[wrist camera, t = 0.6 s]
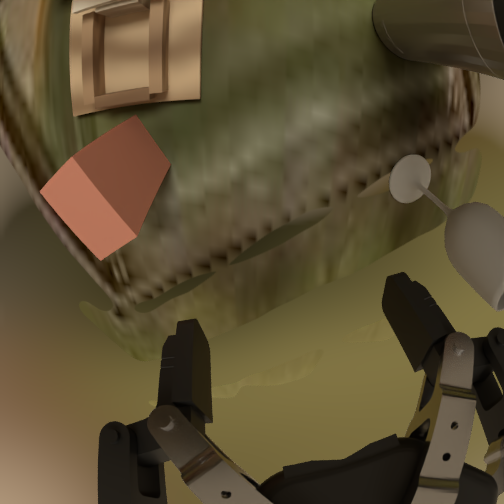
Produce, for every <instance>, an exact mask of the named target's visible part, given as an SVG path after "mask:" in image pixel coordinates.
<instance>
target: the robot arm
mask: <svg viewBox="0 0 504 504" xmlns="http://www.w3.org/2000/svg"><path fill="white" fill-rule="evenodd" d="M372 17H373V23H374V26H375V29H376V32H377V34H378V35H379V37H380V39H381V40H382V42H383V43H384V44H385V46H386V47H387V48H388V49H389V50H390V51H391V52H393V53H394V54H396V55H397V56H399V57H401V58H403V59H406V60H410V61H418V62H426V63H432V64H438V65H444V66H450V67H455V68H460V69H465V70H469V71H473V72H478V73H481V74H486V75H489V76H492V77H496V78H499V79H503V80H504V0H377V1H376V2H375V4H374V7H373V16H372ZM382 309H383V312H384V314H385V316H386V318H387V320H388V321H389V323H390V325H391V327H392V329H393V331H394V332H395V334H396V336H397V338H398V340H399V342H400V344H401V346H402V347H403V350H404V352H405V353H406V355H407V357H408V359H409V361H410V363H411V365H412V367H413V369H414V372H417V371H419V370H422V369H424V371H425V375H424V378H423V383H422V387H421V391H420V396H419V400H418V404H417V407H416V411H415V414H414V417H413V419H412V420H411V422H410V424H409V426H408V429H407V431H406V434H405V437H399V438H397V436H396V434H393V435H391V436H389V437H386V438H383V439H381V440H378V441H376V442H373V443H370V444H369V445H367V446H365V447H364V448H362V449H361V450H359V451H357V452H356V453H354V454H352V455H351V456H349V457H347V458H345V459H342V460H320V461H309V462H304V463H300V464H295V465H289V466H284V467H283V471H280V472H278V473H276V474H274V475H272V476H271V477H269V478H268V479H267V480H265V481H264V482H263V483H262V484H261V485H260V484H259V483H258V482H257V481H256V480H254V479H253V478H252V477H251V476H250V475H249V474H247V473H246V472H245V471H244V470H243V469H242V468H240V467H239V466H238V465H237V464H236V463H234V462H233V461H232V460H231V459H230V458H229V457H228V456H227V455H226V454H225V453H224V452H223V451H222V450H221V449H220V448H219V447H218V446H217V445H216V444H215V443H214V442H213V441H212V440H211V439H210V438H209V437H208V436H207V435H206V434H205V423H213V416H212V394H211V363H210V348H209V344H208V341H207V338H206V336H205V334H204V332H203V330H202V328H201V326H200V324H199V322H198V320H197V319H190V320H184V321H178V323H177V329H176V335H171V336H168V338H167V340H166V342H165V343H164V345H163V349H162V360H161V369H160V378H159V389H158V401H157V406H156V408H155V409H154V410H153V411H152V412H151V413H150V415H149V417H148V418H146V419H144V420H141V421H138V422H135V423H132V424H129V425H126V426H125V425H124V424H122V423H120V422H116V421H114V422H109V423H108V424H106V425H105V426H104V427H103V428H102V430H101V432H100V436H99V452H98V453H99V454H98V504H167V496H166V486H165V474H164V462H166V461H169V460H171V461H172V462H173V463H174V464H175V466H176V467H177V468H178V469H179V471H180V472H181V474H182V475H181V477H182V479H183V481H184V482H185V484H186V485H187V486H188V487H189V488H190V490H191V491H192V492H193V493H194V494H195V495H196V496H197V497H198V498H199V499H200V500H201V501H202V502H203V503H204V504H496V502H497V498H498V496H499V495H500V494H501V493H503V492H504V329H502V328H498V327H497V328H493V329H492V330H491V331H490V332H489V334H488V335H487V337H479V338H470V337H469V336H468V335H466V334H464V333H462V332H456V331H455V329H454V328H453V327H452V325H451V323H450V322H449V320H448V319H447V317H446V316H445V314H444V313H443V312H442V310H441V309H440V307H439V306H438V305H437V304H436V302H435V300H434V299H433V298H432V297H431V295H430V294H429V292H428V290H427V289H426V288H425V287H424V286H423V285H421V284H420V283H418V282H417V281H413V282H412V281H411V280H410V278H409V277H408V276H407V274H406V273H404V272H401V273H398V274H394V275H391V276H388V277H387V279H386V283H385V288H384V294H383V298H382ZM493 371H494V372H495V374H496V376H497V379H498V381H499V383H500V385H501V387H502V390H503V395H502V393H501V390H500V388H499V386H498V384H497V382H496V379H495V378H494V375H493V373H492V372H493ZM475 408H476V410H477V413H478V415H479V418H480V421H481V424H482V426H483V429H484V432H485V435H486V438H487V441H488V444H489V447H488V450H487V453H486V454H485V456H484V461H485V463H487V468H486V471H485V472H484V471H482V470H480V469H478V468H476V467H473V466H471V465H469V464H467V463H465V462H464V460H465V456H466V452H467V449H468V444H469V440H470V435H471V431H472V425H473V419H474V414H475Z"/></svg>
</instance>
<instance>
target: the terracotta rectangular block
mask: <svg viewBox="0 0 504 504" xmlns="http://www.w3.org/2000/svg"><path fill="white" fill-rule="evenodd" d="M170 165H171V164H170V162H169V161H168V160H167V158H166V157H165V155H164V154H163V152H162V151H161V150H160V148H159V147H158V145H157V144H156V143H155V141H154V140H153V138H152V137H151V135H150V134H149V133H148V131H147V130H146V128H145V127H144V126H143V124H142V123H141V121H140V120H139V118H138V117H137V115H134V116H133V117H131V118H129V119H127V120H126V121H124V122H122V123H121V124H119V125H117V126H116V127H114V128H113V129H111V130H110V131H108V132H106V133H105V134H103V135H102V136H100V137H99V138H97V139H96V140H94V141H93V142H91V143H90V144H89V145H87V146H86V147H84V148H83V149H82V150H80V151H79V152H77V153H76V154H75V155H73V156H72V157H71V158H70V159H69V160H68V161H67V162H66V163H65V164H64V165H63V166H62V167H61V168H60V169H59V170H58V171H57V173H56V174H55V175H54V176H53V177H52V178H51V179H50V180H49V181H48V182H47V184H46V185H45V186H44V187H43V188H42V189H41V191H40V193H41V194H42V195H43V196H44V198H45V199H46V200H47V201H48V203H49V204H50V205H51V206H52V207H53V209H54V210H55V211H56V212H57V213H58V215H59V216H60V217H61V218H62V219H63V221H64V222H65V223H66V224H67V225H68V226H69V227H70V229H71V230H72V231H73V232H74V233H75V234H76V235H77V236H78V237H79V239H80V240H81V241H82V242H83V243H84V244H85V245H86V246H87V247H88V248H89V249H90V250H91V251H92V252H93V254H94V255H95V256H96V257H97V258H98V259H99V260H100V261H101V260H102V259H104V258H105V257H107V256H108V255H110V254H111V253H113V252H114V251H116V250H117V249H119V248H120V247H122V246H123V245H125V244H126V243H128V242H129V241H131V240H133V239H134V238H136V237H137V236H138V233H139V231H140V229H141V226H142V224H143V222H144V219H145V217H146V215H147V213H148V211H149V208H150V206H151V204H152V202H153V200H154V198H155V195H156V193H157V191H158V189H159V187H160V185H161V183H162V181H163V179H164V177H165V175H166V173H167V171H168V169H169V167H170Z"/></svg>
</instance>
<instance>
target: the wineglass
mask: <svg viewBox="0 0 504 504" xmlns="http://www.w3.org/2000/svg"><path fill="white" fill-rule="evenodd" d="M430 179H431V170H430V166H429V164H428V162H427V161H426V160H425V158H423V157H421V156H420V155H416V154H411V155H407V156H404V157H403V158H402V159H400V160H399V161H398V162H397V163H396V164H395V166H394V167H393V169H392V171H391V174H390V178H389V189H390V192H391V194H392V196H393V197H394V198H395V199H396V200H397V201H399V202H401V203H411V202H413V201H416V200H417V199H419V198H420V197H421V196H422V195H423V194H425V195H426V196H427V197H428V198H430V199H431V200H432V201H433V202H434V203H435V204H436V205H437V206H438V207H439V208H441V209H442V210H443V211H444V213H445V214H446V215H447V218H448V219H447V222H446V227H445V248H446V252H447V255H448V257H449V260H450V261H451V263H452V264H453V266H454V268H455V269H456V270H457V272H458V273H459V274H460V275H461V276H462V277H463V278H464V279H465V281H466V282H467V283H468V284H469V285H470V286H471V287H472V288H474V290H475V291H476V292H477V293H478V294H479V295H480V296H481V297H482V298H483V299H484V300H485V301H486V302H487V303H488V304H489V305H490V306H491V307H492V308H494V309H495V310H496V311H502V310H504V217H503V216H501V215H500V214H499V213H498V212H497V211H496V210H495V209H493V208H492V207H490V206H489V205H487V204H483V203H479V202H473V203H467V204H463V205H461V206H459V207H457V208H455V209H454V210H453V209H450V208H449V207H447V206H446V205H445V204H444V203H443V202H441V201H440V200H439V199H438V198H437V197H436V196H434V195H433V194H432V193H431V192H430V191H429V190H427V188H428V186H429V183H430Z"/></svg>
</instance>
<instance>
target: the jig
mask: <svg viewBox="0 0 504 504" xmlns="http://www.w3.org/2000/svg"><path fill="white" fill-rule="evenodd" d="M203 1H204V0H72V7H71V20H70V83H71V97H72V108H73V117H74V116H78V115H82V114H87V113H91V112H96V111H101V110H107V109H112V108H118V107H124V106H130V105H137V104H145V103H154V102H163V101H174V100H188V99H200V98H201V47H202V20H203Z"/></svg>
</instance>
